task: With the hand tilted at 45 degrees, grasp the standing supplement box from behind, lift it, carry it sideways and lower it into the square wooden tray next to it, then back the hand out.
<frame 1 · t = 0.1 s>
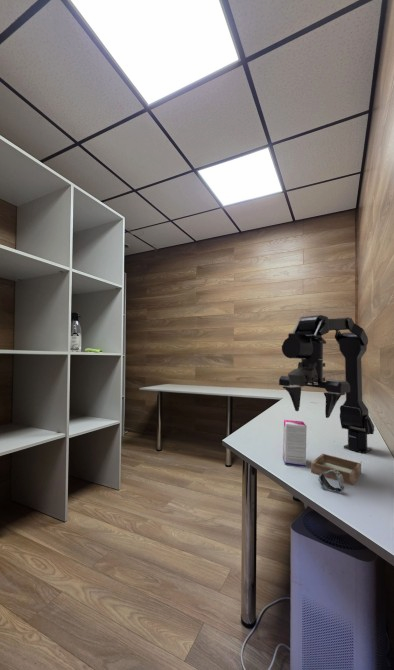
hand: (311, 414, 76), 15 cm above the table, tool pointing down, fingers open, 9 cm apart
wristwatch: (330, 491, 63), on the table
square wooden tray: (336, 472, 72), on the table
supplement box: (294, 462, 79), on the table
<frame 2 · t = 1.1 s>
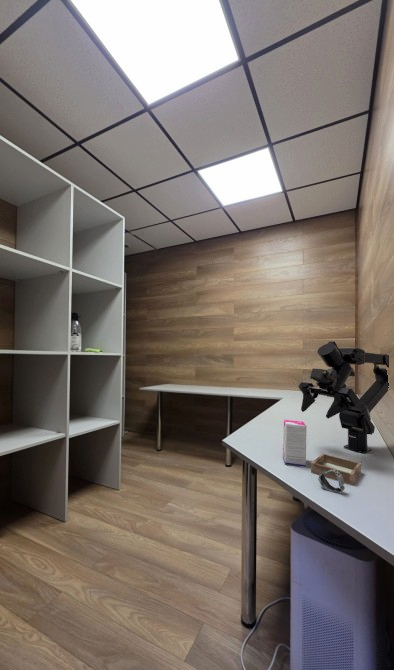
hand: (313, 414, 83), 13 cm above the table, tool tilted 45°, fingers open, 9 cm apart
nothing on the table moved.
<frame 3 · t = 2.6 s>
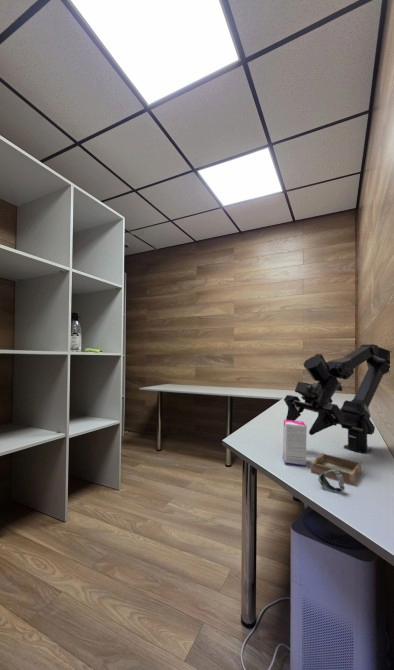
hand: (297, 429, 80), 9 cm above the table, tool tilted 45°, fingers open, 9 cm apart
nothing on the table moved.
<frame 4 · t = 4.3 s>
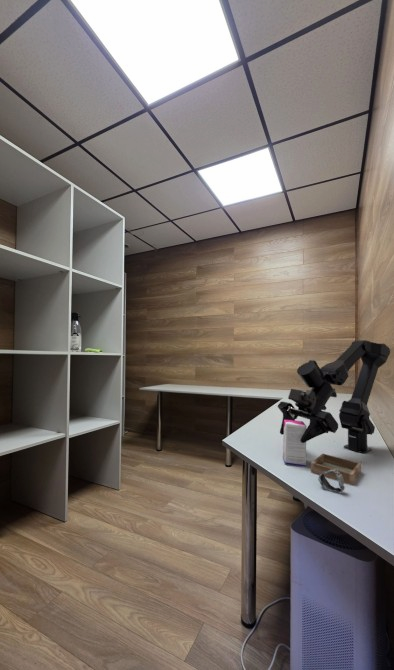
hand: (290, 437, 78), 7 cm above the table, tool tilted 45°, fingers closed on supplement box, 8 cm apart
supplement box: (294, 462, 79), on the table, touching gripper
everything else where it was.
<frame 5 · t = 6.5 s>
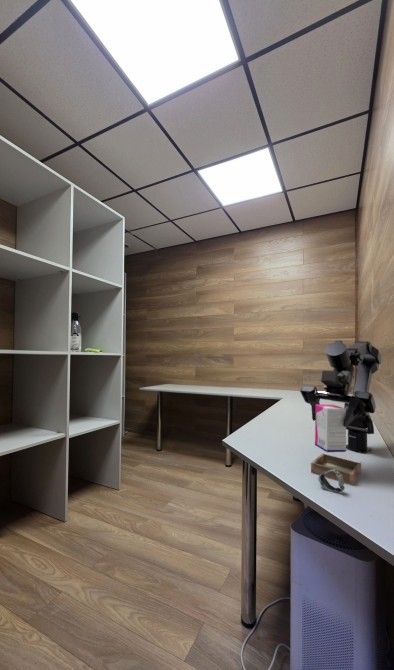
hand: (328, 422, 73), 13 cm above the table, tool tilted 45°, fingers closed on supplement box, 8 cm apart
supplement box: (330, 449, 73), point 6 cm above the table, touching gripper
everything else where it was.
when the fingers open (9 cm above the table, at t = 8.7 s): supplement box drops 1 cm, resting on square wooden tray.
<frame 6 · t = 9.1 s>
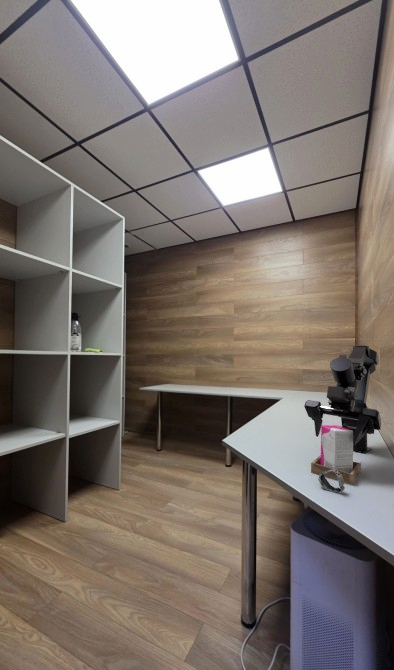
hand: (334, 439, 72), 9 cm above the table, tool tilted 45°, fingers open, 9 cm apart
supplement box: (336, 471, 72), resting on square wooden tray
everything else where it was.
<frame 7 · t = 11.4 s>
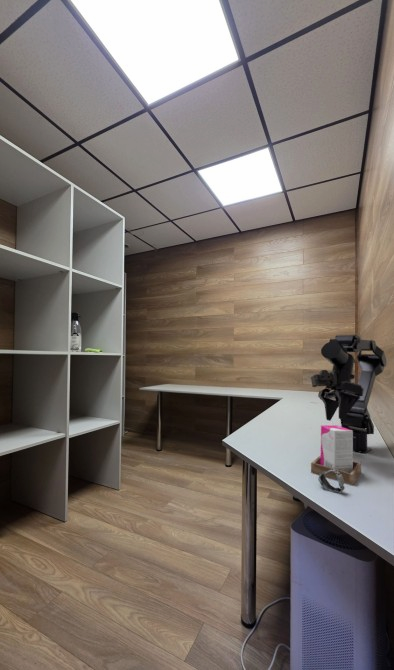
hand: (334, 419, 81), 12 cm above the table, tool tilted 20°, fingers open, 9 cm apart
nothing on the table moved.
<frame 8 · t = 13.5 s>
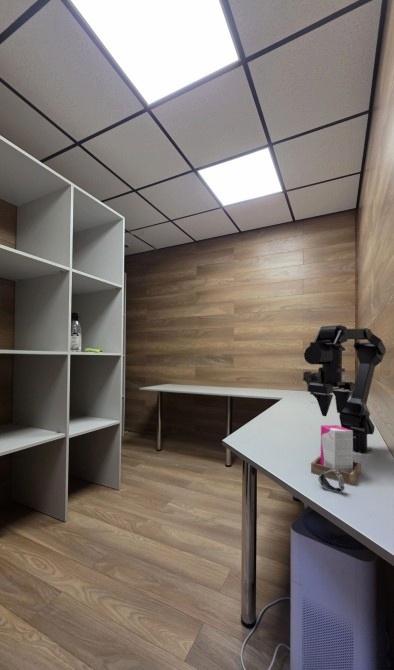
hand: (331, 414, 84), 13 cm above the table, tool pointing down, fingers open, 9 cm apart
nothing on the table moved.
at the end: supplement box 0.2 cm off-centre on the square wooden tray, point 0.2 cm above the square wooden tray's base; supplement box tilted 0°; the gripper is holding nothing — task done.
